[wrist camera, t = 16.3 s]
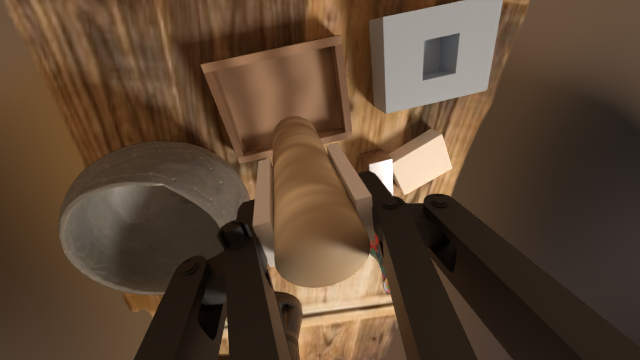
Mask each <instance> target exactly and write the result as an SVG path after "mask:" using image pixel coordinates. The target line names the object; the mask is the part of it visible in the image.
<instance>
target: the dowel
mask: <svg viewBox="0 0 640 360" xmlns="http://www.w3.org/2000/svg"><path fill="white" fill-rule="evenodd" d="M272 143H273V205H274V261H275V266H276V269H277V271H278V272H279V274H280V275H281V276H282V277H283V278H284V279H285V280H287V281H288V282H290V283H292V284H295V285H298V286H302V287H311V288H316V287H325V286H330V285H333V284H336V283H339V282H341V281H343V280H345V279H347V278H349V277H350V276H352V275H353V274H355V273H356V272H357V271H358V270H359V269H360V268H361V267H362V266H363V264H364V263H365V262H366V260H367V258H368V256H369V253H370V244H371V243H370V238H369V236H368V233H367V231H366V229H365V227H364V225H363V223H362V221H361V219H360V217H359V215H358V213H357V212H356V210H355V208H354V206H353V204H352V202H351V200H350V198H349V196H348V194H347V192H346V190H345V188H344V186H343V184H342V182H341V180H340V178H339V176H338V174H337V172H336V170H335V168H334V166H333V164H332V162H331V160H330V158H329V156H328V154H327V152H326V150H325V148H324V146H323V144H322V142H321V140H320V138H319V136H318V134H317V132H316V130H315V128H314V126H313V125H312V123H311V122H309V121H308V120H307V119H305V118H302V117H299V116H291V117H287V118H285V119H283V120H281V121H280V122H279V123H278V124H277V125H276V127H275V129H274V131H273V136H272Z"/></svg>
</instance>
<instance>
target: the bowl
mask: <svg viewBox="0 0 640 360" xmlns="http://www.w3.org/2000/svg"><path fill="white" fill-rule="evenodd" d="M246 201H250V199H249V195H248V192H247V189H246V187H245V186H244V184H243V182H242V180H241V178H240V177H239V175H238V174H237V172H236V171H235V170H234V169H233V168H232V167H231V166H230V165H229V164H228V163H227V162H226V161H224V160H223V159H222V158H221V157H219V156H217V155H216V154H214V153H213V152H211V151H209V150H207V149H205V148H202V147H200V146H197V145H193V144H189V143H184V142H170V141H154V142H145V143H139V144H134V145H130V146H126V147H123V148H120V149H118V150H115V151H113V152H111V153H109V154H107V155H105V156H104V157H102V158H100V159H98V160H97V161H95V162H94V163H92V164H91V165H90V166H88V167H87V168H86V169H85V170H84V171H83V172H82V173H81V174H80V175H79V176H78V177H77V178H76V180H75V181H74V182H73V184H72V185H71V186H70V188H69V190H68V192H67V194H66V196H65V199H64V201H63V204H62V206H61V209H60V215H59V223H58V232H59V237H60V241H61V244H62V247H63V250H64V252H65V254H66V256H67V257H68V258H69V260H70V262H71V263H72V264H73V265H74V266H75V267H76V268H77V269H79V270H80V271H81V272H82V273H84V274H85V275H86V276H88V277H89V278H91V279H93V280H94V281H96V282H98V283H100V284H102V285H104V286H107V287H109V288H112V289H115V290H119V291H123V292H127V293H133V294H140V295H162V294H164V293H165V291H166V289H167V287H168V285H169V283H170V280H171V278H172V276H173V274H174V272H175V270H176V269H177V267H178V266H179V265H180V264H181V263H182V262H183V261H185V260H187V259H188V258H191V257H193V256H200V255H201V256H203V257H205V259H206V260H208V259H210V258H212V257H214V256H216V255H218V254H220V253H221V252H223V251H224V248H223V246H222V245H221V243H220V241H219V239H218V237H217V233H218V231H219V229H220V228H221V227H222V226H223V225H225V224H226V223H228V222H230V221H233V220H236V217H237V211H238V208H239V207H240V205H241V204H242V203H243V202H246Z"/></svg>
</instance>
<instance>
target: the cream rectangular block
mask: <svg viewBox="0 0 640 360" xmlns="http://www.w3.org/2000/svg"><path fill="white" fill-rule="evenodd" d="M388 155H389V156H390V157H391V158H392V168H393V179H394V181H395V183H396V185H397V187H398V188H399V189H400V191H401V192H402V193H403V194H404V195H406V194H408V193H410V192H411V191H413V190H415V189H417V188H418V187H420V186H422V185H424V184H425V183H427V182H429V181H431V180H432V179H434V178H436V177H438V176H439V175H441V174H443V173H445V172H446V171H448V170H450V169H452V166H451V162H450V159H449V156H448V153H447V149H446V146H445V143H444V139H443V136H442V134H441V133H439V132H437V131H435V130H434V129H432V128H431V129H429V130H428V131H426V132H424V133H423V134H421V135H419V136H418V137H416V138H414V139H413V140H411V141H409V142H408V143H406V144H404V145H403V146H401V147H399V148H398V149H396V150H394V151H393V152H391V153H389V154H388Z"/></svg>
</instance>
